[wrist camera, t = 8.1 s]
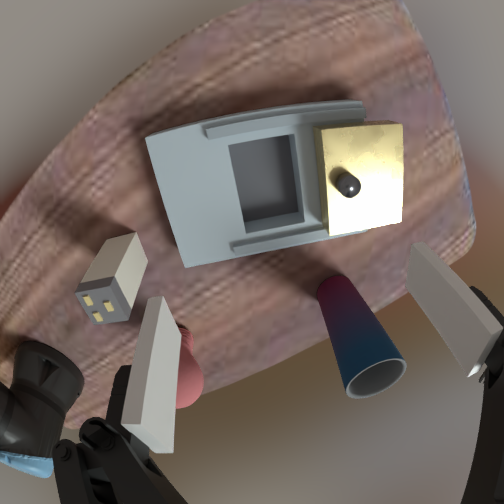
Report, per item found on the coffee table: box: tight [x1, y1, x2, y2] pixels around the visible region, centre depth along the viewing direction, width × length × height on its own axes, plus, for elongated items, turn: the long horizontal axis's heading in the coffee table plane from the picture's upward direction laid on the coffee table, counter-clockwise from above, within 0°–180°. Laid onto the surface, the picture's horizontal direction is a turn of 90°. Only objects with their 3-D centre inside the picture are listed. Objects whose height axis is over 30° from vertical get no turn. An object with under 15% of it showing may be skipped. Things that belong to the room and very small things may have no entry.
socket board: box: [145, 99, 370, 268], centre depth 28 cm, size 20×14×4 cm
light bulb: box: [175, 328, 204, 408], centre depth 34 cm, size 7×7×12 cm
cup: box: [317, 276, 406, 398], centre depth 32 cm, size 7×7×15 cm
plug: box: [75, 232, 148, 325], centre depth 28 cm, size 4×4×10 cm
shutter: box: [312, 120, 403, 236], centre depth 25 cm, size 8×10×4 cm
